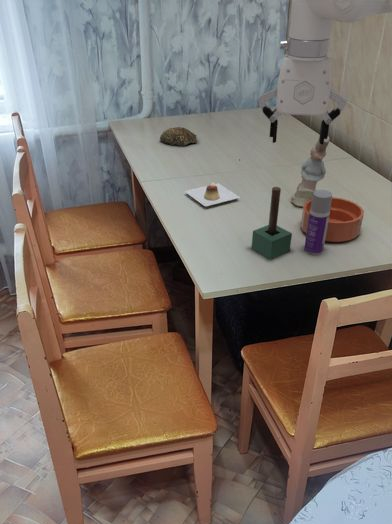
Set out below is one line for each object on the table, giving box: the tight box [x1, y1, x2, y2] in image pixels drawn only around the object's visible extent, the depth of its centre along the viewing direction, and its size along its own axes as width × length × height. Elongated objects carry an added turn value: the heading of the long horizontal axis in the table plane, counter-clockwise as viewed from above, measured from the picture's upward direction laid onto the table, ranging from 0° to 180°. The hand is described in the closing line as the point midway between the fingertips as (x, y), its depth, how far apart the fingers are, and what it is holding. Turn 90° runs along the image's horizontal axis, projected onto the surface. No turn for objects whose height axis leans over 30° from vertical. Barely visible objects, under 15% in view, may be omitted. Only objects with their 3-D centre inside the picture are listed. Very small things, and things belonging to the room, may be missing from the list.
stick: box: [267, 186, 282, 236], centre depth 131 cm, size 2×2×16 cm
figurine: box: [291, 135, 331, 208], centre depth 152 cm, size 9×8×20 cm
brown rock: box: [159, 126, 198, 147], centre depth 196 cm, size 13×12×5 cm
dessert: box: [183, 181, 241, 208], centre depth 158 cm, size 12×12×5 cm
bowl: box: [300, 196, 365, 243], centre depth 143 cm, size 15×15×6 cm
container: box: [303, 189, 333, 256], centre depth 131 cm, size 5×5×15 cm
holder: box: [251, 224, 293, 260], centre depth 135 cm, size 7×7×5 cm
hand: (297, 141), depth 112 cm, fingers open, 9 cm apart
